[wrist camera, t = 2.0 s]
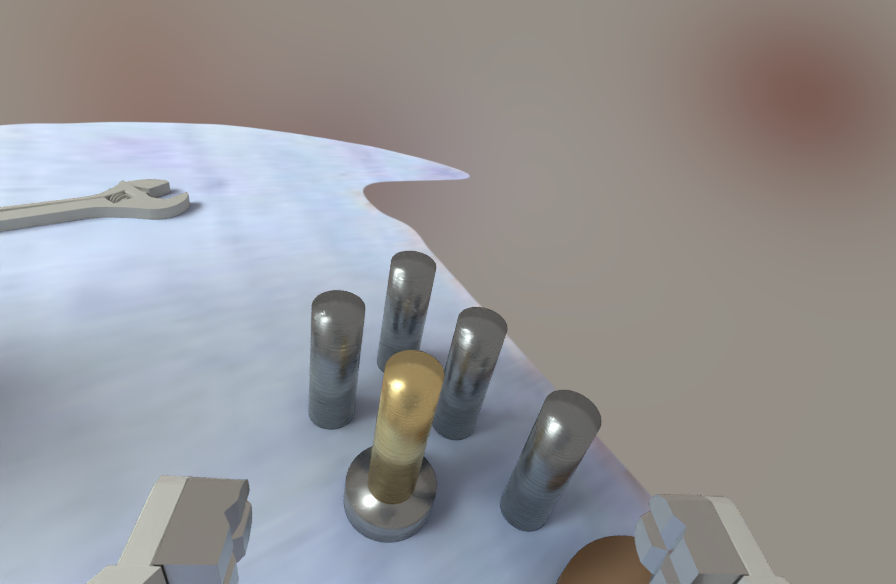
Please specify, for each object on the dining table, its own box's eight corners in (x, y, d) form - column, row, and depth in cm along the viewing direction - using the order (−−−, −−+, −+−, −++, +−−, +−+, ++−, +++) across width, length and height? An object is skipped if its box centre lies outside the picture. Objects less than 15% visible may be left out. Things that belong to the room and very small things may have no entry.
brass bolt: (325, 494, 33) (334, 363, 26) (391, 446, 37) (415, 319, 29) (384, 562, 30) (413, 438, 23) (448, 503, 34) (491, 379, 27)
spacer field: (551, 532, 34) (608, 439, 28) (285, 516, 31) (283, 411, 25) (518, 361, 46) (553, 269, 39) (324, 340, 43) (329, 239, 37)
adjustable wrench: (-152, 261, 41) (-164, 242, 40) (-137, 219, 45) (-148, 201, 44) (192, 218, 54) (189, 203, 53) (180, 188, 58) (177, 174, 57)
